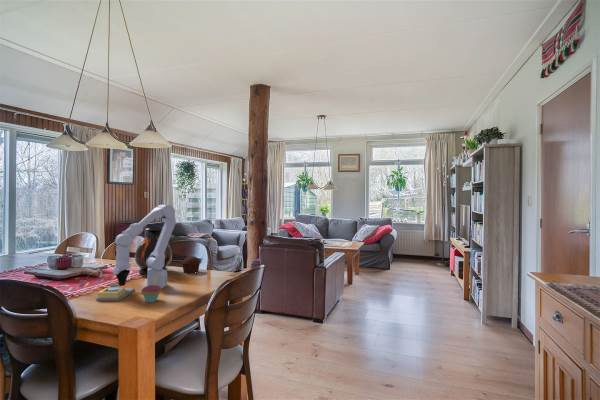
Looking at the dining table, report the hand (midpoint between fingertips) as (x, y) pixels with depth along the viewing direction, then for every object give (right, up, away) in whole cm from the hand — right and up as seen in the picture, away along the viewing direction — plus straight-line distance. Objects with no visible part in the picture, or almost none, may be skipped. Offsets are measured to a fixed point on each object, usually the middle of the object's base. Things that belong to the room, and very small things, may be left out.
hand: (122, 285), depth 157 cm
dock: (0, -3, -6) cm, 7 cm away
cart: (+1, -2, -9) cm, 9 cm away
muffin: (+19, -4, +45) cm, 49 cm away
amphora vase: (-4, -3, +42) cm, 42 cm away
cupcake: (+20, -4, -12) cm, 24 cm away
